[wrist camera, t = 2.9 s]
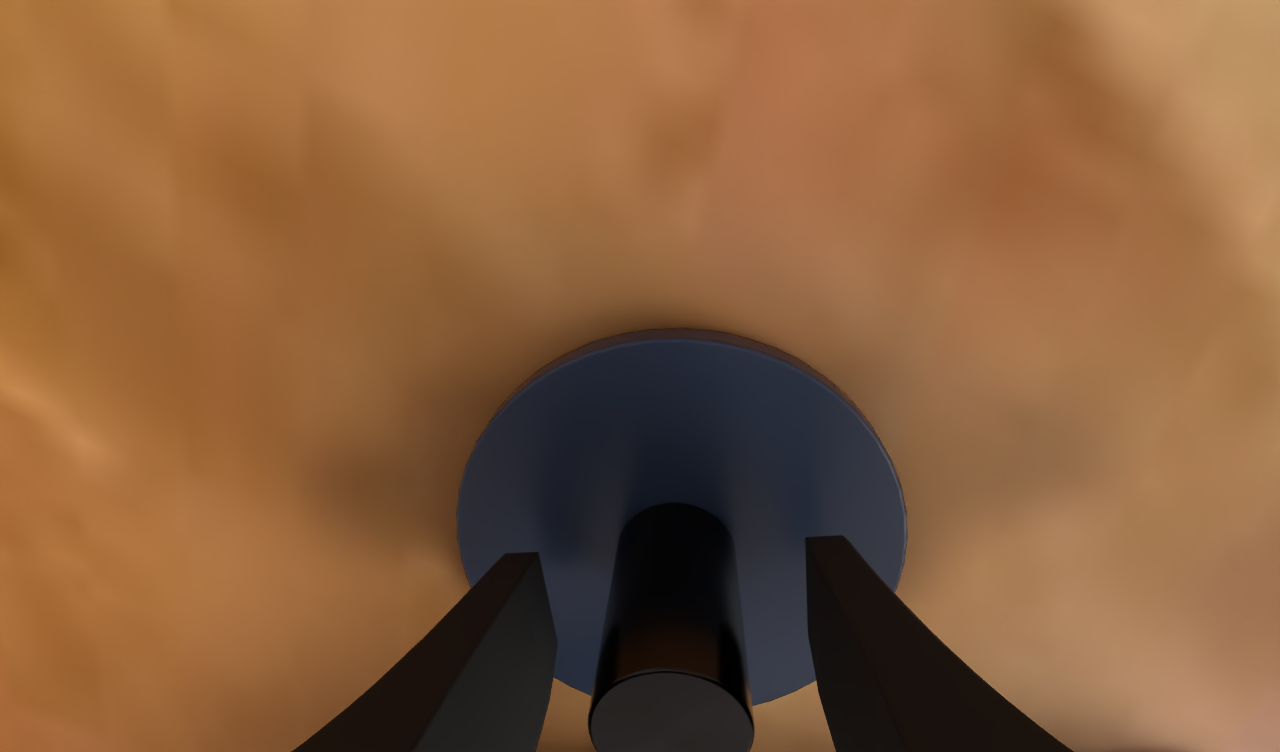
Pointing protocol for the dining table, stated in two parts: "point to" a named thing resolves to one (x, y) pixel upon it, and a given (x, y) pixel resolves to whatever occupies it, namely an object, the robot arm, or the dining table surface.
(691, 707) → the lid
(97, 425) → the dining table surface
